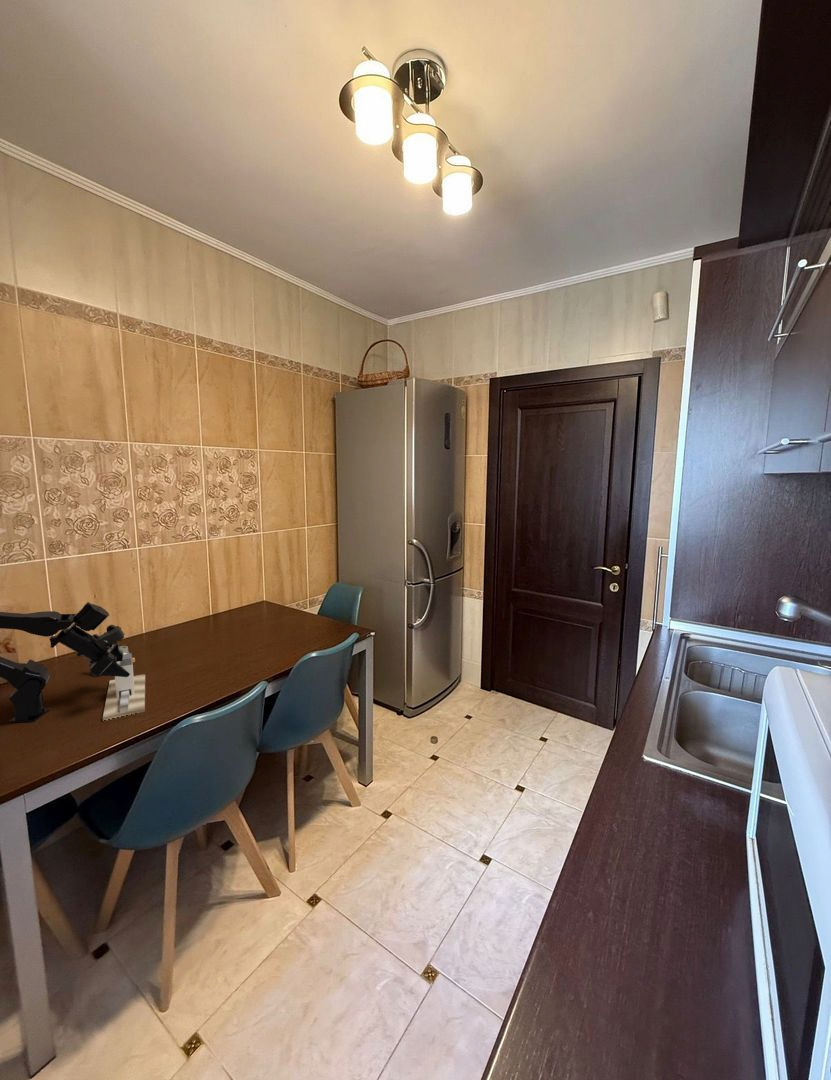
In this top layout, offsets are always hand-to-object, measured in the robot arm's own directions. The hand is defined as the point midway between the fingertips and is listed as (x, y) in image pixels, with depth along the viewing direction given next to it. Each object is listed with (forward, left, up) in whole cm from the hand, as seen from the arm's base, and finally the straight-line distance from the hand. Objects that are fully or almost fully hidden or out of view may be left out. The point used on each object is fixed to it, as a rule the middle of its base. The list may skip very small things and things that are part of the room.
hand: (129, 669), depth 137 cm
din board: (-1, +1, -9) cm, 9 cm away
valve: (+20, +17, -9) cm, 28 cm away
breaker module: (-1, +1, -8) cm, 8 cm away
